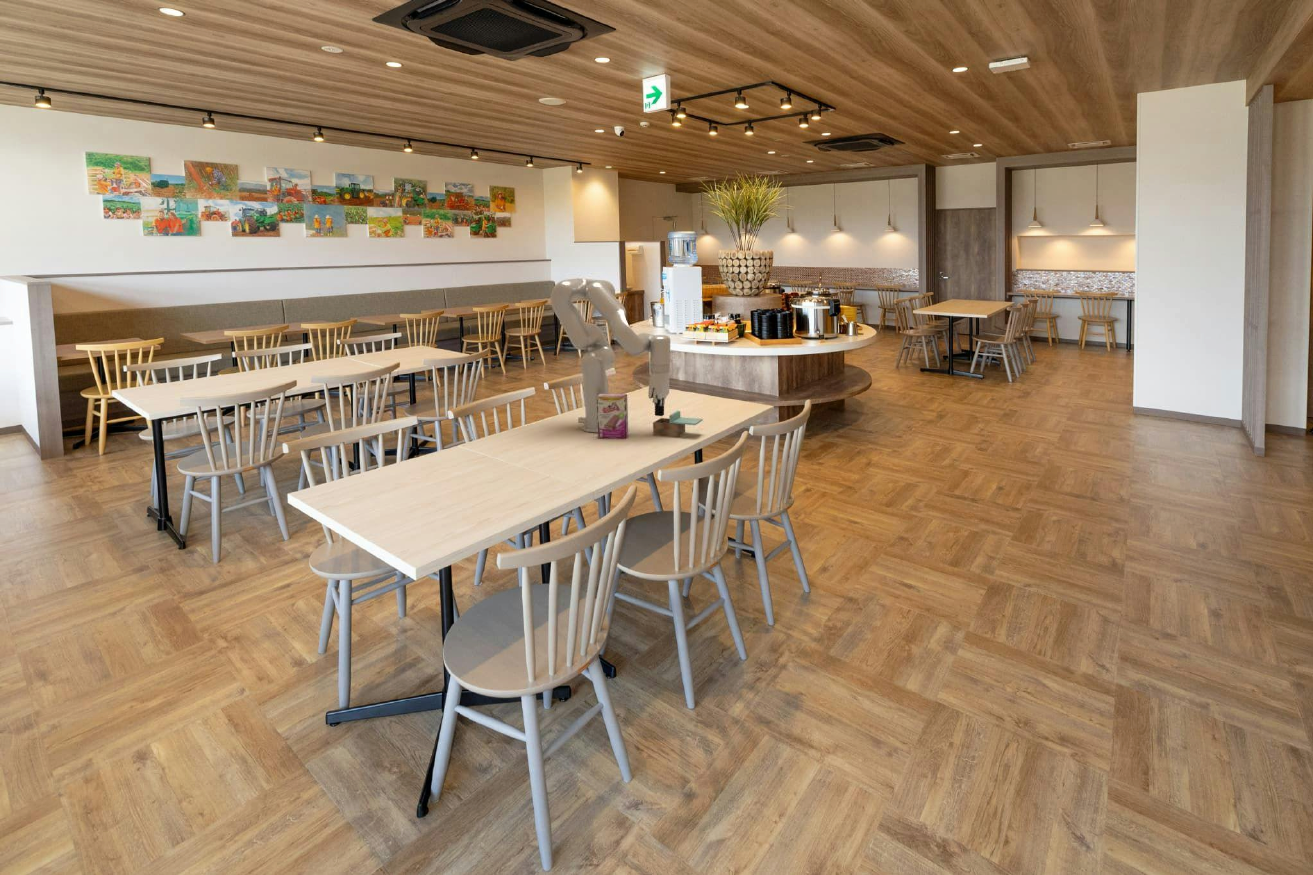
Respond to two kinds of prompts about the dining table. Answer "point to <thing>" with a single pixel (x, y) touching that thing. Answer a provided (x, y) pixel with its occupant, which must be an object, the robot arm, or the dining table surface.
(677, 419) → the lid
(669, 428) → the brown wooden box
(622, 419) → the candy bar box
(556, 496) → the dining table surface
